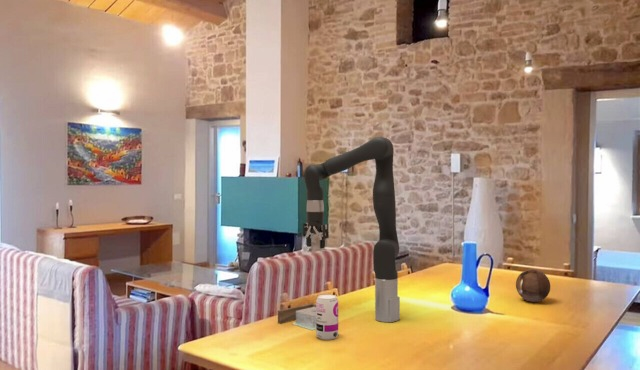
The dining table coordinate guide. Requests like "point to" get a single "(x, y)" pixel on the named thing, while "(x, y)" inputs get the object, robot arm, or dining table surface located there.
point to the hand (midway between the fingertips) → (315, 247)
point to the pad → (303, 326)
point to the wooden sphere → (533, 285)
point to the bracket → (306, 317)
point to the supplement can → (327, 317)
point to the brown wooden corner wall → (291, 313)
